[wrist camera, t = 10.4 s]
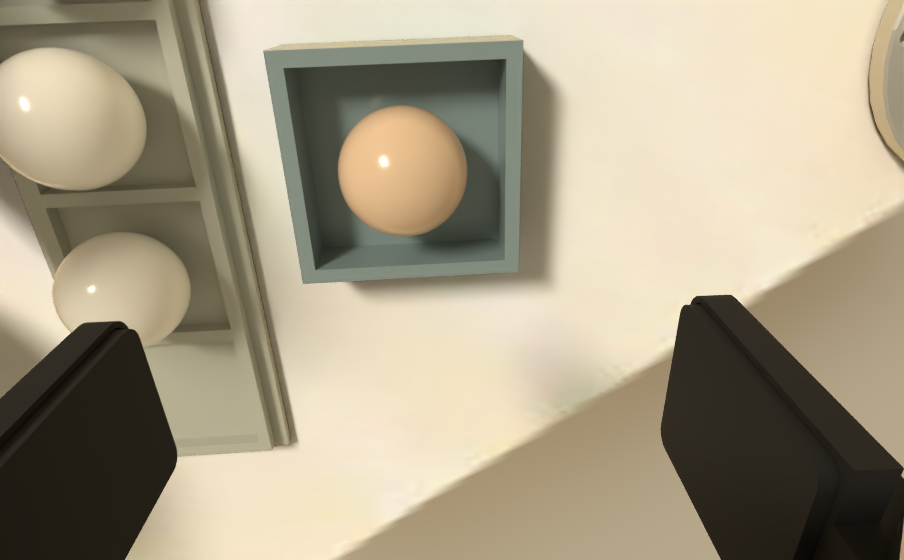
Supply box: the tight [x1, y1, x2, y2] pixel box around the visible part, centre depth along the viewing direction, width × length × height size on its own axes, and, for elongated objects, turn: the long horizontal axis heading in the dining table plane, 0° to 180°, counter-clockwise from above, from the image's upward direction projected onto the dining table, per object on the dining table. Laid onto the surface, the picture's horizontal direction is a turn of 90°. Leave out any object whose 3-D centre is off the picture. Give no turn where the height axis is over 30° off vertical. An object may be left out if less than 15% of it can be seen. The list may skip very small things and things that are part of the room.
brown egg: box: [338, 105, 467, 237], centre depth 22 cm, size 5×5×5 cm
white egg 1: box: [0, 47, 147, 191], centre depth 21 cm, size 5×5×5 cm
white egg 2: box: [52, 232, 191, 348], centre depth 24 cm, size 5×5×5 cm
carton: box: [0, 0, 290, 456], centre depth 24 cm, size 9×29×1 cm, turn 2°
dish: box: [263, 35, 523, 284], centre depth 23 cm, size 9×9×3 cm
